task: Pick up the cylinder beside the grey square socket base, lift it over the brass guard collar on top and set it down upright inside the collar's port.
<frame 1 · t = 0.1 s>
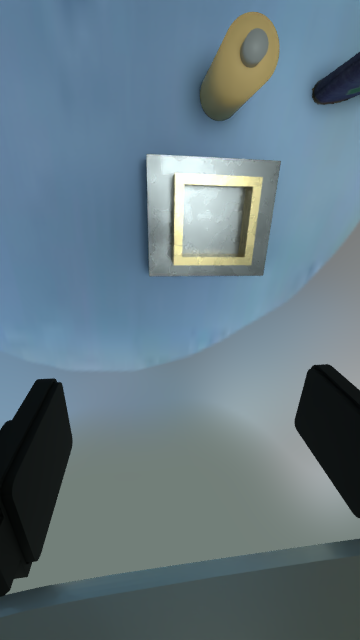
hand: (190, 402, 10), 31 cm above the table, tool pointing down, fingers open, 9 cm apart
cylinder: (220, 95, 32), on the table
grey square socket base: (204, 219, 37), on the table
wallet: (345, 86, 33), on the table
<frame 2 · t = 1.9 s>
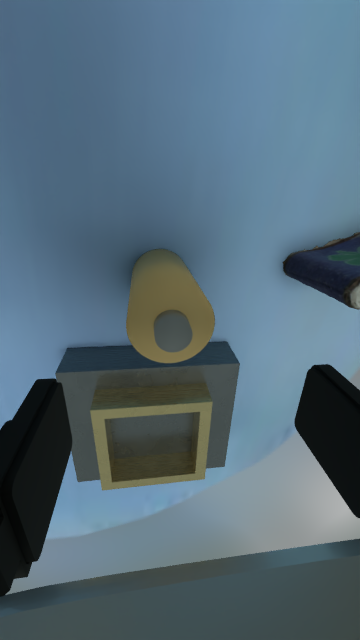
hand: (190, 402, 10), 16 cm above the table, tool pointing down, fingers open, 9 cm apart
cylinder: (160, 277, 24), on the table
grey square socket base: (151, 398, 30), on the table
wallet: (326, 254, 25), on the table
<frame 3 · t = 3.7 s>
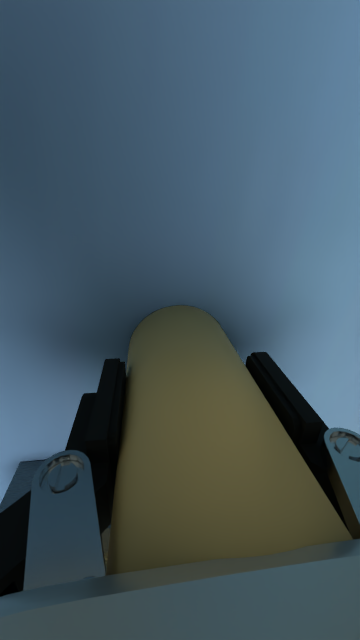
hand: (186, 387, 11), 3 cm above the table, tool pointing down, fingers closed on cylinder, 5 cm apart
cylinder: (178, 350, 14), on the table, touching gripper
grey square socket base: (159, 519, 19), on the table
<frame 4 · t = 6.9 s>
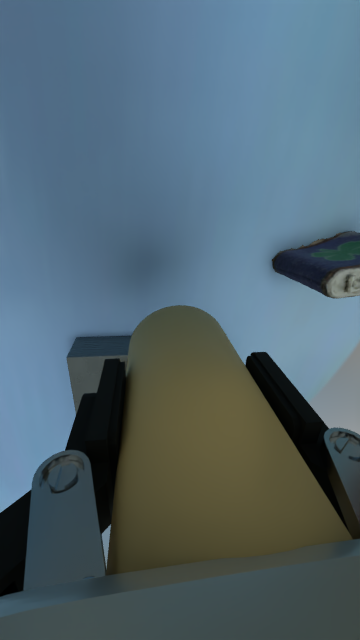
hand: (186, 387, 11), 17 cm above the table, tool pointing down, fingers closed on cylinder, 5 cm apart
cylinder: (178, 351, 14), point 14 cm above the table, touching gripper
grey square socket base: (152, 386, 32), on the table
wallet: (312, 253, 28), on the table
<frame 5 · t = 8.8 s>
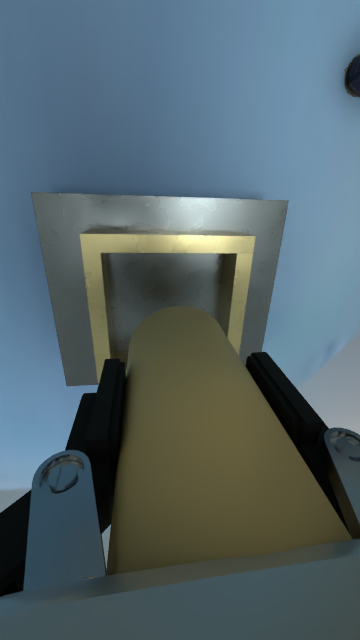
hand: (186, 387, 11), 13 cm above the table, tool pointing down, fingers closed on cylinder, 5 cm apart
cylinder: (178, 351, 14), point 11 cm above the table, touching gripper
grey square socket base: (163, 286, 23), on the table
when the fingers open (8 cm above the table, at t = 10.4 s): cylinder drops 1 cm, resting on grey square socket base.
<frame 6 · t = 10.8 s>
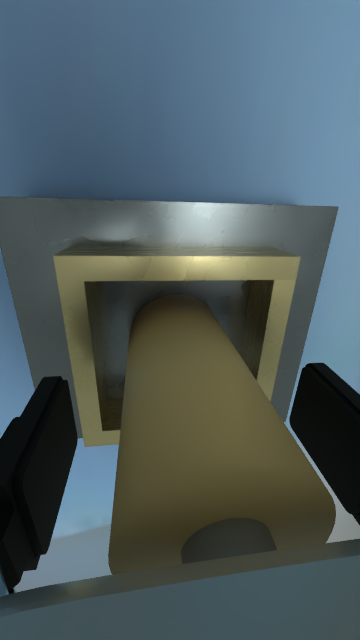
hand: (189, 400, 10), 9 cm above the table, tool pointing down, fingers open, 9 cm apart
cylinder: (174, 337, 15), point 4 cm above the table, touching grey square socket base
grey square socket base: (168, 311, 18), on the table
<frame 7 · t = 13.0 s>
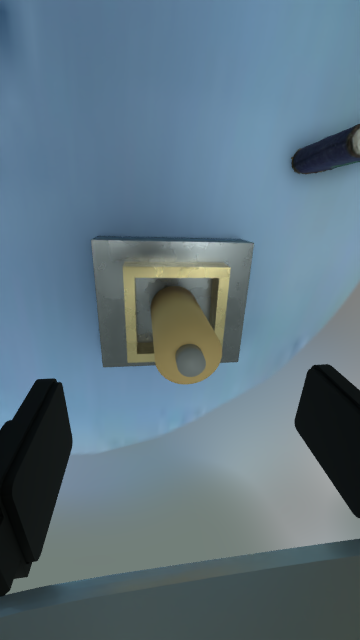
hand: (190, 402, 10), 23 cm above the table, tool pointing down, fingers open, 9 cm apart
cylinder: (173, 308, 28), point 4 cm above the table, touching grey square socket base
grey square socket base: (170, 297, 32), on the table
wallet: (330, 153, 28), on the table
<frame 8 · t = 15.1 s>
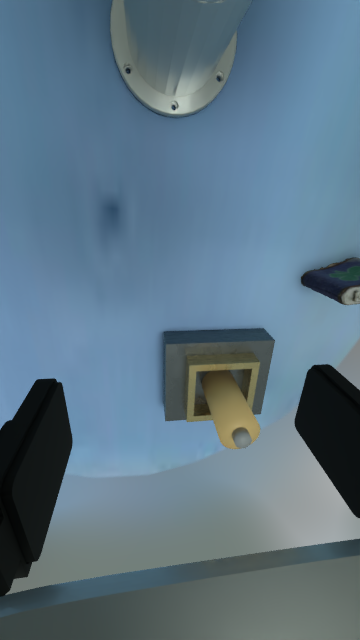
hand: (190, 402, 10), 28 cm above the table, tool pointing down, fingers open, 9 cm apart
cylinder: (217, 382, 40), point 4 cm above the table, touching grey square socket base
grey square socket base: (211, 367, 44), on the table
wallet: (328, 272, 40), on the table
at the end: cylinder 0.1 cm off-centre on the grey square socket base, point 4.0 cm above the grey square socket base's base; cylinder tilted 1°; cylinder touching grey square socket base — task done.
